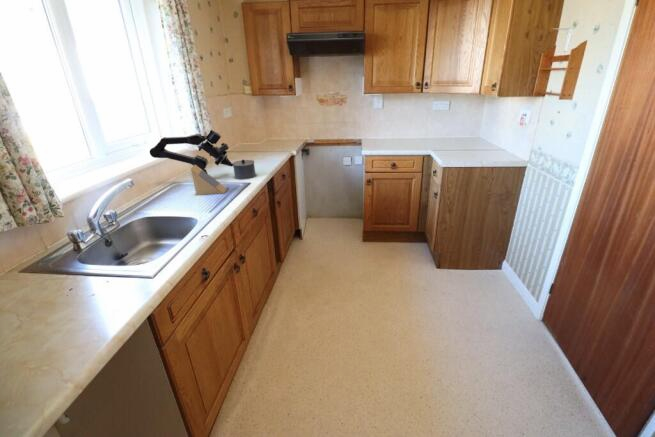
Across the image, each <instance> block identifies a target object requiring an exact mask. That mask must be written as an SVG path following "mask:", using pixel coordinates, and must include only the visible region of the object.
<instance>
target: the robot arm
mask: <svg viewBox="0 0 655 437" xmlns="http://www.w3.org/2000/svg"><path fill="white" fill-rule="evenodd" d="M221 138H222V135H221V134H219V133H218V132H216V131H215V130H213V129H211V130H210V131H209V133H208V134H207V135H202V134H201V133H195V134H190V135H187V136H170V137H166V136H164V137H162V138H160V140H159V141H158V143H157V144H156V145H155V146H154V147H152V148H150V149H149V155H150V156H151V157H152V158H155V159H169V160H174V161H177V162H182V163H185V164H190V165H192V167H193V166H194V165H197V166H198V167H199V168H200V169H202V170H203V171H204V172H206V173H207V174H208V170H207V169H206V168H207V166H208V165H209V161H208V159H207V158H206V157H205V156H204V155H198V154H196V156H190V155H186V154H182V153H178V152H175V151H170V150H168V149H166V147H167V146H168V145H184V144H185V145H187V144H188V145H194V146H197V148H198V152H201V151H202V150H203V151H204V152H205V153H207V154H208V155H209V157H212V158H214V165H216V166H219V165H223V166H228V167H232V168H233V165H232V163H233V162H231V160H230V159H229V158H228V150H229V149H230V147H229V145H228V144H227V143H225V142H222V143H221V144H220V145H221V146H219V147H218V146H215V145H216V144H217V143H218V142H219V140H220V139H221ZM208 175H209V174H208Z"/></svg>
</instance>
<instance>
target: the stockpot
mask: <svg viewBox="0 0 655 437" xmlns="http://www.w3.org/2000/svg"><path fill="white" fill-rule="evenodd" d="M231 163H232V165H233V166H232V168H233V173H234V178H235V179H237V180H247V179H252V178H254V177H255V176H256V167H255V160H253V159H241V160H236V161H233V162H231Z"/></svg>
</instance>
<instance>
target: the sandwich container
mask: <svg viewBox="0 0 655 437" xmlns="http://www.w3.org/2000/svg"><path fill="white" fill-rule="evenodd" d="M190 173H191V178H192V182H193V187H194V191H195V195H196V196H201V195H217V194H225V193H226V192H227V189H228V187H227V186H225V185H223V184H222V183H221V182H219V181H218V180H217V179H215V178H213V176H211V175H210V174H207V173H208V172H207V173H206V172H204V171H203V170H202V169H200V168H199V167H198V166H197V165H194V166H193V165H192V167H190Z"/></svg>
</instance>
